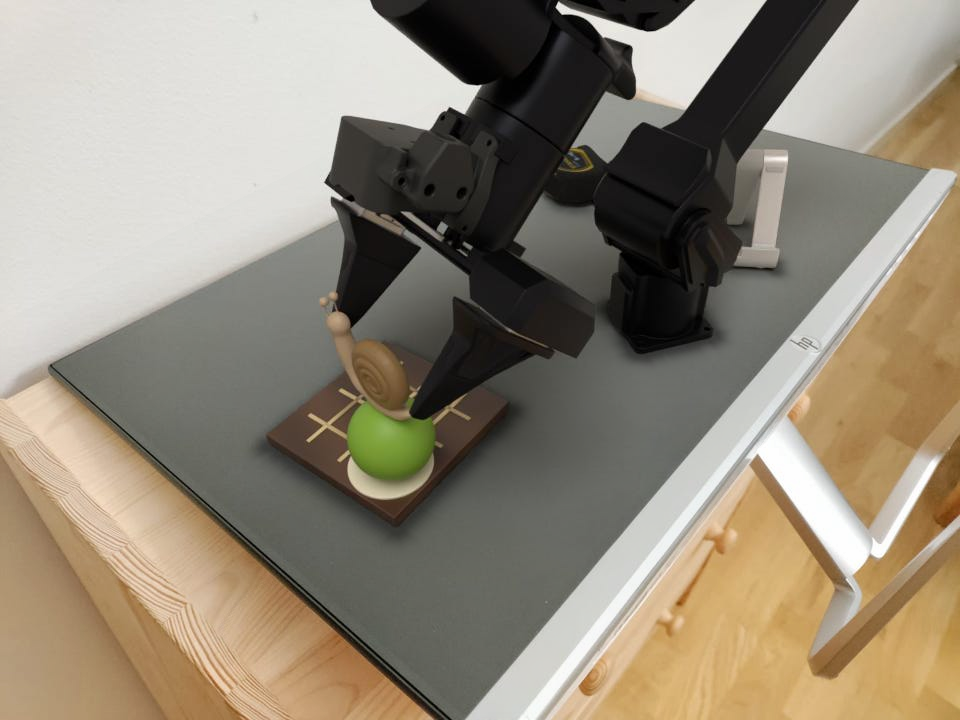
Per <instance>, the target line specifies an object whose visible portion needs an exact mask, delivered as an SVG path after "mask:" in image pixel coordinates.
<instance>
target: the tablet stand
mask: <svg viewBox="0 0 960 720" xmlns="http://www.w3.org/2000/svg"><path fill="white" fill-rule="evenodd" d="M788 163H789V151H788V150H787V149H766V148H765V149H764V148H763V149H762V148H760V149H759V148H748V149H747V151H746V152H745V153H744V155H743V156H742V157H741V159H740V161H739V162H738V164H737V170H736V180H735V191H734V202H733V208H732V210H731V211H730V213H729V215H728V216H727V218H726V225H728V226H729V225H730V226H731V225H732V226H733V225H734V226H738V225H742V224H743V223H744V220H745V217H746V214H747V212H748V210H749V206H750V204H751V201H752V198H753V195H754V192H755V190H756V187H757V184H758V182H759V187H758V188H759V189H758V194H757V195H758V196H757V203H756V210H755V216H754V224H753V230H752V239H751V245H750V246H742V247H741V249H740V252H739V254H738V256H737V260H736V261H735V263H734V265H733V267H745V268H757V269H765V268H769V269H775V268H776V267H777V265H778V261H779V255H780V253H781V250H780V248H778V247H776V244H777V238H778V237H777V236H778V231H779V226H780V225H779V224H780V217H781V210H782V204H783V197H784V191H785V185H786V178H787V171H788V165H789V164H788Z"/></svg>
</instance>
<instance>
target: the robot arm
mask: <svg viewBox="0 0 960 720" xmlns="http://www.w3.org/2000/svg"><path fill="white" fill-rule="evenodd" d="M369 1H370V5H371V7H372V9H373V10H374V11H375V12H376V14H378V15H379V16H380V17H381V18H382V19H384V20H385V21H386V22H387V23H389V25H391V26H392V27H393V28H395V29H396V30H397V31H398V32H399V33H401V34H402V35H403V36H405V37H406V38H407V39H408V40H409V41H411V42H412V43H413V44H414V45H416V46H417V47H418V48H419V49H420V50H422V51H423V52H424V53H425V54H427V55H428V56H429V57H430V58H432V59H433V61H435V62H436V63H438V64H439V65H440V66H441V67H442V68H443V69H445V70H446V71H448V72H449V73H450V74H451V75H452V76H454V77H455V78H456V79H457V80H459V81H460V82H461V83H463V84H465V85H468V86H477V87H478V86H480V87H479V89H478V90H477V92H476V93H475V96H474V98H473V99H472V101H471V102H470V104H469V106H468V108H467V109H466V111H465V113H463V112H461V111H459V110H457V109H455V108H453V107H451V106H448V108H447V110H444V111H441V113H440V114H439V115H438V116H437V118H436V120H435V122H434V123H433V125H432V127H431V128H430V129H423V128H418V127H415V126H411V125H407V124H403V123H397V122H392V121H391V122H390V121H384V120H379V119H372V118H366V117H361V116H354V115H342V116H340V122H339V127H338V131H337V136H336V142H335V147H334V152H333V157H332V161H331V166H330V171H329V172H328V174H327V176H326V178H325V179H324V181H323V183H324V184H325V185H326V186H327V187H328V188H329V189H331V190H333V191H334V193H336V194H338V195H339V196H340V197H341V199H339V198H337V197H335V196H332V195H331V196H330V200H329V201H330V207H332V208H333V209H334V210H335V212H336V215H337V218H338V220H339V224H340V226H341V229H342V233H343V239H344V240H343V247H342V257H341V262H340V269H339V274H338V279H337V284H336V288H335V292H336V293H337V294H338V299H337V300H336V301H335V303H336V307H337V310H338V311H339V312H342V313H344V314H345V315H346V316H347V317H348V318H349V320H350V324H351V327H350V329H353V327H355V326H356V325H357V323H359V321H361V320H362V319H363V318H364V317H365V315H367V313H368V312H369V310H370V309H371V308H372V307H374V305H375V304H376V302H377V301H378V300H379V299H380V298H381V297H382V296H383V294H384V293H385V292H386V291H387V289H389V287H390V286H391V285H392V284H393V282H395V280H396V279H397V278H398V277H399V276H400V275H401V273H402V272H403V271H404V270H405V269H406V267H407V266H408V265H410V263H411V262H412V260H414V258H416V257H417V255H418V254H419V252H420V251H421V250H422V246H421V245H419V244H418V243H416V242H415V241H414V240H413V239H411V238H410V237H409V236H407V235H406V234H405V231H406V230H407V231H408V232H409V233H410V234H411V235H415V237H417V238H418V239H419V240H421V241H422V242H423V243H425V244H426V245H427V246H429V247H430V248H431V249H432V250H433V251H435V252H437V253H438V254H439V255H441V256H442V257H443V258H444V259H445V260H447V261H448V262H450V263H451V264H452V265H454V266H455V267H456V268H458V269H459V270H460V271H462V272H463V273H464V274H466V275H467V276H468V289H469V299H470V300H471V301H472V302H474V303H475V304H473V303H472V302H470V301H467V300H464V299H461V298H460V297H457V296H455V295H453V297H452V320H453V321H452V323H453V328H452V331H451V334H450V336H449V337H448V339H447V341H446V342H445V344H444V345H443V347H442V349H441V351H440V352H439V354H438V356H437V358H436V359H435V361H434V362H433V364H434V365H433V366H432V368H431V370H430V371H429V373H428V375H427V376H426V378H425V380H424V382H423V383H422V385H421V387H420V389H419V390H418V393H417V395H416V397H415V399H414V401H413V404H412V406H411V408H410V410H409V414H410V416H411V417H412V418H414V419H419V420H426V419H428V418H429V417H431V416H432V415H434V414H435V413H437V412H438V411H440V410H441V409H443V408H445V407H446V406H448V405H449V404H451V403H452V402H454V401H455V400H457V399H459V398H460V397H462V396H463V395H465V394H466V393H468V392H469V391H471V390H472V389H474V388H476V387H477V386H479V387H480V386H481V385H482V384H483V383H486V381H488V380H490V379H492V378H493V377H495V376H497V375H499V374H501V373H503V372H505V371H506V370H509V369H511V368H513V367H515V366H517V365H518V364H520V363H522V362H524V361H526V360H528V359H530V358H533V357H534V356H538V357H541V358H543V359H546V360H550V359H551V358H553V356H554V355H555V353H556V351H557V352H560V353H562V354H564V355H566V356H569V357H571V358H573V359H575V360H577V359H578V358H579V356H580V355H581V353H582V351H583V350H584V348H585V347H586V346H587V344H588V343H589V341H590V340H591V338H592V337H593V334H594V333H595V329H596V327H595V325H596V311H597V309H596V304H595V303H593V302H591V301H590V300H589V299H587V298H586V297H585V296H583V295H581V294H580V293H578V292H577V291H575V289H572V288H571V287H569V286H568V285H566V284H565V283H564V282H562V281H561V280H559V279H558V278H556V277H555V276H553V275H552V274H550V273H548V272H547V271H545V270H543V269H541V268H539V267H537V266H536V265H534V264H532V263H530V262H529V261H527V260H525V259H523V258H522V257H523V255H524V253H525V251H526V250H527V247H524V245H522V244H520V243H519V242H517V241H515V239H516V237H517V235H518V234H519V232H520V231H521V229H522V228H523V226H524V224H525V223H526V221H527V220H528V218H529V216H530V215H531V213H532V211H533V210H534V208H535V207H536V205H537V203H538V201H539V200H540V199H541V197H542V195H543V194H546V195H548V196H549V197H551V198H553V199H555V200H557V199H558V197H559V196H560V194H561V192H562V191H563V189H564V188H565V186H566V184H567V183H566V182H564V181H563V180H562V179H560V178H559V177H558V176H557V175H555V173H556V171H557V169H558V168H559V166H560V165H561V163H562V161H563V160H564V158H565V156H566V155H567V153H568V152H569V150H570V148H573V145H574V143H575V141H576V140H577V139H578V137H579V135H580V134H581V132H582V130H583V129H584V127H585V126H586V124H587V122H588V121H589V119H590V118H591V116H592V115H593V113H594V111H595V109H596V108H597V107H598V105H599V103H600V102H601V100H602V98H603V97H604V95H605V94H606V93H609V94H611V95H613V96H616V97H619V98H621V99H624V100H626V101H632V100H633V99H634V98H635V97H636V94H637V77H636V74H635V71H634V67H633V54H634V53H633V52H634V48H633V46H632V45H631V44H629V43H625V42H622V41H619V40H616V39H613V38H610V37H607V36H605V37H603V35H602V34H601V33H600V31H598V29H596V27H595V26H594V24H592V23H591V21H589V20H588V19H586V18H585V17H582V16H581V15H576V14H571V13H565V14H562V13H561V12H560V10H559V9H558V8H557V5H558V4H561V5H563V6H564V7H567V8H568V9H570V10H573V11H576V12H580V13H583V14H586V15H590V16H593V17H596V18H599V19H602V20H606V21H609V22H612V23H615V24H618V25H622V26H624V27H628V28H632V29H635V30H638V31H643V32H646V33H648V32H649V33H651V32H657V31H660V30H661V29H664V28H665V27H668V26H669V25H670V24H671V23H673V22H674V21H675V20H676V19H677V18H678V17H680V16H681V15H682V14H683V13H684V12H685V11H686V10H688V8H689V7H690V6H691V5H692V4H693V3H695V1H696V0H369ZM859 1H860V0H765V1H764V2H763V4H762V5H761V6H760V8H759V10H757V12H756V14H755V15H754V16H753V18H752V19H751V20H750V21H749V23H748V24H747V26H746V27H745V28H744V29H743V31H742V33H741V34H740V35H739V37H738V38H737V39H736V40H735V42H734V43H733V45H732V46H731V48H730V49H729V50H728V52H727V53H726V54H725V56H724V57H723V59H722V60H721V61H720V63H719V64H718V65H717V67H716V68H715V70H713V72H712V73H711V75H710V76H709V78H708V79H707V80H706V81H705V83H704V84H703V86H702V87H701V88H700V90H699V91H698V92H697V94H696V95H695V97H694V98H693V99H692V101H691V102H690V103H689V105H688V106H687V107H686V109H685V110H684V112H683V113H682V114H681V115H680V117H679V118H677V119H676V120H674V121H672V122H670V123H668V124H666V125H665V126H662V127H658V126H655V125H653V124H650V123H648V122H646V121H642V122H640V123H639V124H637V126H636V127H634V128H633V129H632V130H631V131H630V132H629V134H628V136H627V138H626V140H625V141H624V142H623V145H622V147H621V148H620V150H619V151H618V152H617V153H616V154H615V156H614V157H613V158H612V159H611V160H609V162H606V163H607V164H606V165H605V166H604V167H603V171H605V172H607V173H606V174H605V175H604V177H603V178H602V180H601V181H600V183H599V185H598V186H597V188H596V191H595V193H594V196H593V199H592V200H593V208H594V210H593V218H594V225H595V226H596V228H597V230H598V231H599V232H600V233H601V235H602V239H603V241H604V244H605V245H607V246H609V247H613V248H614V249H616V250H618V251H620V252H619V254H618V263H617V264H618V265H617V271H615V272H613V273H612V275H611V281H610V291H609V292H610V293H609V299H607V300H605V304H604V305H605V309H606V311H607V312H608V316H609V318H610V319H611V320H612V322H613V323H614V325H615V326H616V328H617V329H618V331H619V332H620V333H621V334H622V335H624V337H625V339H626V340H627V341H628V343H629V344H630V346H631V347H632V348H633V350H634V351H635V352H636V353H639V354H640V353H641V354H642V353H643V354H644V353H647V352H651V351H656V350H661V349H664V348H668V347H673V346H677V345H681V344H685V343H689V342H694V341H698V340H703V339H706V338H710V337H712V336H713V334H714V330H715V329H714V327H713V326H712V325H711V324H710V322H709V321H708V320H707V319H706V317H705V311H706V305H707V302H708V301H707V300H708V295H709V291H710V288H717V287H719V286H720V285H722V284H723V280H724V279H723V278H724V275H725V274H726V273H727V272H729V271H731V270H732V269H733V267H734V266H733V265H734V263H735V261H736V260H737V256H738V254H739V252H740V250H741V247H743V245H744V244H743V243H744V242H743V240H742V239H741V238H740V237H739V236H738V235H737V234H736V233H735V232H734V231H733V230H732V229H731V228H730V227H729V225H728V224H727V223H725V221H726V220H727V216H728V215H729V213H730V211H731V210H732V208H733V202H734V191H735V180H736V170H737V164H738V162H739V161H740V159H741V157H742V156H743V155H744V153H745V152H746V151H747V149H750V147H751V145H752V144H753V143H754V142H755V140H756V139H757V137H758V136H759V135H760V134H761V132H762V130H764V128H765V127H766V126H767V124H768V122H769V121H770V120H771V118H772V117H774V115H775V114H776V112H777V111H778V110H779V108H780V106H782V104H783V103H784V101H785V100H786V99H787V98H788V96H789V95H790V93H791V92H792V91H793V90H794V88H795V87H796V85H798V83H799V81H800V80H801V79H802V77H803V76H804V75H805V74H806V72H807V71H808V70H809V68H810V67H811V66H812V64H813V63H814V61H815V60H816V59H817V57H818V56H819V55H820V53H821V52H822V51H823V50H824V48H825V47H826V45H827V44H828V43H829V42H830V40H831V38H832V37H834V35H835V33H836V32H837V31H838V30H839V28H840V27H841V26H842V24H843V23H844V21H845V20H846V19H847V18H848V16H849V15H850V13H851V12H852V11H853V9H854V8H855V7H856V6H857V4H858V2H859ZM441 223H443V224H444V225H446V226H447V227H446V229H445V230H444V232H443V233H442V232H441V231H439V230H438V228H439V226H440V225H441ZM465 243H466V244H467V245H466V244H465ZM468 245H469V246H470V247H469V246H468ZM333 312H336V309H335V305H334V302H333V304H332V309H331V313H333Z"/></svg>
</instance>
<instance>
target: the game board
mask: <svg viewBox="0 0 960 720" xmlns="http://www.w3.org/2000/svg"><path fill="white" fill-rule="evenodd" d="M380 343H382V344H384V345H385V346H386V347H387V348H389V349H390V350H391V351H392V353H393V354H394V355H395V356H396V357H397V359H398V360H399V362H400V363H401V365H402V367H403V368H404V370H405V373H406V375H407V378H408V381H409V387H410V395H409V397H411V398H413V399H415V397H416V395H417V393H418V390H419V389H420V387H421V385H422V383H423V382H424V380H425V378H426V376H427V375H428V373H429V371H430V370H431V368H432V366H433V365H434V363H432V362H430V361H428V360H426V359H424V358H422V357H420V356H418V355H416V354H414V353H412V352H410V351H408V350H406V349H403V348H401V347H400V346H398V345H395V344H393V343H391V342H390V341H387V340H386V339H383V340H382V342H381V341H380ZM366 401H367V399H366V398H365V397H364V396H363V395H362V394H361V393H360V392H359V391H358V390H357V389H356V387H355V386H354V385H353V383H352V381H351V379H350V377H349V375H348V374H347V372H346V370H344V371H343V372H342V373H341V374H339V376H338V377H336V378H335V379H334V380H332V381H331V382H330V383H328V385H326V386H324V387H323V388H322V389H321V390H320V391H318V392H317V393H316V394H314V395H313V396H312V397H311V398H310V399H308V400H307V401H306V402H305V403H303V404H302V405H301V406H300V407H298V408H297V409H296V410H295V411H293V412H292V413H290V414H289V415H288V416H287V417H286V418H284V419H283V420H282V421H281V422H279V423H278V424H277V425H276V426H275V427H273V428H272V429H270V430H269V431H268V432H266V434H265V437H266V439H267V442H268V444H269V445H271V446H272V447H274V448H275V449H276V450H278V451H280V452H281V453H283V454H284V455H286V456H287V457H289V458H290V459H292V460H293V461H295V462H297V463H298V464H300V465H301V466H302V467H304V468H306V469H307V470H308V471H310V472H312V473H313V474H314V475H316V476H318V477H319V478H321V479H322V480H324V481H325V482H327V483H328V484H330V485H331V486H332V487H334V488H336V489H337V490H339V491H341V492H342V493H344V494H345V495H346V496H348V497H349V498H351V499H353V500H354V501H356V502H357V503H359V504H360V505H362V506H363V507H365V508H366V509H368V510H369V511H371V512H373V513H374V514H375V515H377V516H379V518H381V519H383V520H385V521H386V522H388V523H389V524H390V525H392V526H394V527H398V526H399V525H400V524H401V523H402V522H403V521H404V520H405V519H406V518H407V517H408V516H409V514H411V513H412V512H413V511H414V509H415V508H416V507H417V506H419V504H420V503H421V502H422V501H423V500H424V499H425V498H426V497H427V496H428V495H429V494H430V493H431V492H432V491H433V490H434V489H435V488H436V487H437V486H438V485H439V484H440V483H441V482H442V481H443V479H444V478H446V476H447V475H449V474H450V473H451V471H452V470H453V469H454V468H455V467H456V466H457V465H458V464H459V463H460V462H461V461H463V459H464V458H465V457H466V456H467V455H468V454H469V453H470V452H471V451H472V450H473V448H475V447H476V445H477V444H478V443H480V441H481V440H483V438H484V437H486V435H487V434H488V433H489V432H490V431H491V430H492V429H493V428H494V427H495V426H496V425H497V424H498V423H499V422H500V421H501V420H502V419H503V418H504V417H505V416H506V415H507V413H509V412H510V401H509V400H507V399H505V398H504V397H502V396H499V395H498V394H495V393H493V392H491V391H489V390H487V389H485V388H483V387H481V386H480V385H479V386H477V387H476V388H474V389H472V390H471V391H469V392H468V393H466V394H465V395H463V396H462V397H460V398H459V399H457V400H455V401H454V402H452V403H451V404H449V405H448V406H446V407H445V408H443V409H441V410H440V411H438V412H437V413H435V414H434V415H432V416H431V418H432V421H433V423H434V427H435V446H434V450H433V456H434V466H433V470H432V473H431V475H430V476H429V478H428V480H427V481H426V482H425V483H424V484H423V485H422V486H421V487H420V488H418V489H417V490H416V491H414V492H412V493H410V494H408V495H406V496H403V497H400V498H396V499H388V500H381V499H374V498H370V497H368V496H365V495H363V494H361V493H360V492H359V491H357V490H356V489H355V488H354V487H353V485H352V484H351V482H350V480H349V476H348V463H349V460H350V457H351V455H350V452H349V449H348V445H347V431H348V426H349V423H350V420H351V418H352V416H353V415H354V413H355V412H356V410H357V409H358V408H359V407H360V406H361V405H362V404H363V403H364V402H366Z"/></svg>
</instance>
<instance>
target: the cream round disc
mask: <svg viewBox="0 0 960 720" xmlns="http://www.w3.org/2000/svg"><path fill="white" fill-rule="evenodd" d="M433 466H434V456H433V453H432V455H431V457H430V459H429V460H428V462H427V463H426V465H425V466H424V467H423V468H422V469H421V470H420V471H419V472H417V473H416V474H414V475H413V476H411V477H409V478H406V479H403V480H399V481H382V480H378V479H375V478H373V477H371V476H369V475H367V474H366V473H364V472H363V471H362V470H361V469H360V468H359V467H358V466H357V465H356V464H355V462H354V461H353V459H352V457H350V460H349V463H348V476H349V480H350V482H351V484H352V485H353V487H354V488H355V489H356V490H357V491H359V492H360V493H361V494H363V495H365V496H368V497H370V498H374V499H381V500H388V499H396V498H400V497H403V496H406V495H408V494H410V493H412V492H414V491H416V490H417V489H418V488H420V487H421V486H422V485H423V484H424V483H425V482H426V481H427V480H428V478H429V476H430V475H431V473H432V470H433Z"/></svg>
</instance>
